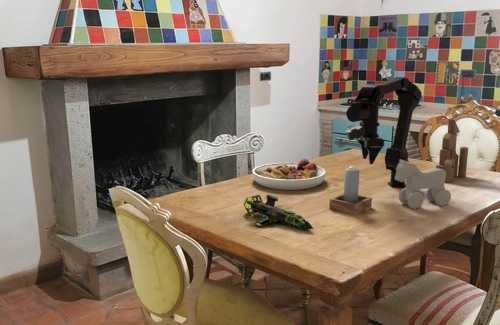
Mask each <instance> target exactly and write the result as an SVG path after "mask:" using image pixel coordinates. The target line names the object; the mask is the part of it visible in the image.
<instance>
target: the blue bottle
mask: <svg viewBox="0 0 500 325" xmlns="http://www.w3.org/2000/svg"><path fill="white" fill-rule="evenodd" d="M359 183H360V169H358V168H357V167H356V166H354V165H350V166H348V167H347V168H345V169H344V183H343V186H344V187H343V188H344V189H343V190H344V191H343V193H344V201H346V202H350V203H355V204H356V203H358V195H359V187H360V186H359V185H360V184H359Z"/></svg>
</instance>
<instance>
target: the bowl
mask: <svg viewBox="0 0 500 325" xmlns="http://www.w3.org/2000/svg"><path fill="white" fill-rule="evenodd" d="M252 177H253V180H254V181H255V183H257V184H259V185H260V186H262V187H265V188H269V189H273V190H281V191H297V190H298V191H299V190H308V189H312V188H314V187H317V186H319V185H320V184H322V183H323V182H324V180H325V178H326V170H325V168H322V167H320V166H317V164H316V163H314V162H310V161H309V159H307V158H303V159H301V160H300V161H299V162H274V163H268V164H267V163H266V164H262V165H259V166H256V167H254V168H253V169H252Z"/></svg>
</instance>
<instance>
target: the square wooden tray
mask: <svg viewBox="0 0 500 325" xmlns="http://www.w3.org/2000/svg"><path fill="white" fill-rule="evenodd" d="M372 202H373V199H372V197H371V196H364V195H359V194H358V203H356V204H355V203H350V202H346V201H344V192H343V193H340V194H338V195H336V196H333V197H332V198H329V204H328V206H329V207H328V209H329V210H332V211H338V212H342V213H347V214H351V215H355V216H358V215H359V214H362V213H364V212H365V211H368V210H369V209H371V208H372V204H373V203H372Z"/></svg>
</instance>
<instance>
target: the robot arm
mask: <svg viewBox="0 0 500 325" xmlns="http://www.w3.org/2000/svg"><path fill="white" fill-rule="evenodd" d="M392 92H394V94H395V95H396V96H397V103H398V107H399V111H398V118H397V122H396V128H395V133H394V138H393V142H392V145H391V146H390V147H387V148H386V149H385V155H384V164H385V170H387V171H388V170H389V171H390V181H388V182H387V185H388V186H390V187H391V188H406V180H405V181H404V182H399V181H397V180H395V175H396V168H397V165H398V164H399V160H400V159H401V160H404V161H407V162H410V161H409V152H408V149H407V143H408V142H407V141H408V138H409V132H410V127H411V122H412V117H413V113H414V110H416V108H417V107H418V106H419V105H420V101H421V98H422V91H421V89H420V88H419V86H418V85H416V84H414V83H413V82H411V81H410V79H409V78H407V77H405V76H404V77H403V76H396V77H394V78H392V79H389V80H386V81H383V82H380V83H368V84H367V83H364V84H363V85H362V86H361V87H360V89H359V91H358V94H357V96H356V97H355V100H354V102H351V104H350V106H349V107H348V108H347V110H346V113H345V115H346V118H347V119H348V121H349V122H352V123H356V122H359V125H357V126H353V127H352V128H348V129H346V130H345V135H346V138H347V140H349V141H353V140H355V141H356V142H357V143H359V145H360V149H361V150H360V151H361V154H362V159H364V160H366V159H367V158H368V161H369V162H368V163H369V165H374V163H375V160H376V158H378V155H379V154H380V152H381V150H382V149H383V148H384V147H385V140H384V139H383V138H382V137H380V134H379V133H378V131H379V130H378V129H379V127H380V122H379V111H380V110H379V108H380V107H383V104H382V103H381V102H380V101H381V100H383V99H384V98H385V96H386V95H387V94H390V93H392Z"/></svg>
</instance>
